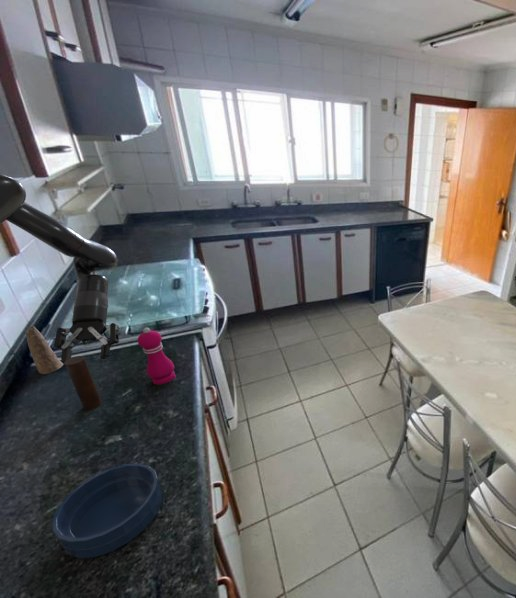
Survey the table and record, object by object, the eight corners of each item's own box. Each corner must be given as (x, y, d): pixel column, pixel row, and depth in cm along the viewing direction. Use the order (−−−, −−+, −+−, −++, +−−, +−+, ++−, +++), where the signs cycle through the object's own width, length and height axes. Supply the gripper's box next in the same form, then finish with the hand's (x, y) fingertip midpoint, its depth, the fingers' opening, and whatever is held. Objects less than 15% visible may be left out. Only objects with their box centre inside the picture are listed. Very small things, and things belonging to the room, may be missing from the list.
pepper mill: (146, 383, 107) (125, 331, 98) (167, 370, 113) (149, 320, 104) (161, 389, 104) (141, 336, 96) (182, 376, 110) (165, 324, 102)
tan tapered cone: (72, 369, 111) (49, 373, 109) (51, 320, 105) (27, 323, 103) (60, 379, 105) (36, 383, 103) (37, 327, 99) (12, 331, 98)
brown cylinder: (81, 411, 94) (61, 365, 88) (86, 402, 98) (67, 357, 91) (99, 407, 96) (81, 362, 89) (103, 398, 99) (86, 354, 93)
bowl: (48, 575, 60) (35, 556, 57) (81, 496, 73) (72, 477, 70) (155, 538, 66) (148, 520, 64) (168, 472, 79) (162, 454, 77)
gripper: (52, 306, 94) (45, 361, 89) (113, 301, 99) (109, 354, 94) (68, 314, 101) (62, 366, 96) (125, 309, 106) (121, 359, 101)
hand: (85, 360), depth 95 cm, fingers open, 8 cm apart
